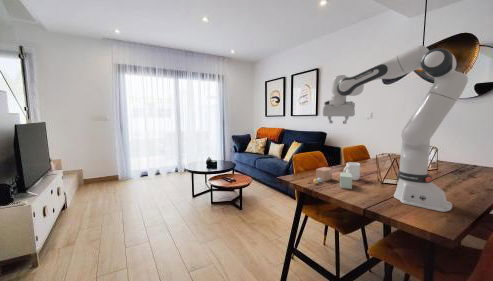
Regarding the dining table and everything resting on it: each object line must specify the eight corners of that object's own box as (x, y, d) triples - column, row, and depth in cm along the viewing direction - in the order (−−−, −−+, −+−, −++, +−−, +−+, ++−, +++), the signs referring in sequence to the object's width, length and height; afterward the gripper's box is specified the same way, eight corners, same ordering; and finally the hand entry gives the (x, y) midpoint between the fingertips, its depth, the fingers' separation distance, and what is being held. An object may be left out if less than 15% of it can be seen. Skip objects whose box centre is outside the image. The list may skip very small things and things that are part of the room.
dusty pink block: (331, 178, 145) (332, 168, 144) (324, 181, 139) (324, 171, 138) (323, 176, 149) (323, 166, 149) (315, 179, 144) (316, 169, 143)
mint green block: (350, 184, 134) (351, 173, 133) (351, 189, 125) (352, 177, 124) (339, 183, 136) (340, 172, 135) (340, 187, 127) (340, 176, 127)
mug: (348, 181, 138) (348, 166, 137) (338, 178, 146) (339, 163, 145) (362, 179, 142) (363, 164, 141) (352, 176, 150) (353, 161, 149)
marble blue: (322, 182, 138) (322, 177, 137) (320, 183, 136) (320, 178, 135) (318, 181, 140) (318, 176, 140) (315, 182, 138) (316, 177, 138)
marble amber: (319, 183, 135) (319, 179, 135) (316, 184, 133) (316, 180, 133) (315, 182, 138) (315, 178, 137) (312, 183, 136) (312, 178, 135)
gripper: (357, 101, 131) (356, 123, 133) (327, 102, 147) (326, 122, 149) (352, 101, 127) (351, 124, 129) (321, 102, 143) (321, 123, 145)
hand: (337, 123), depth 139 cm, fingers open, 8 cm apart
